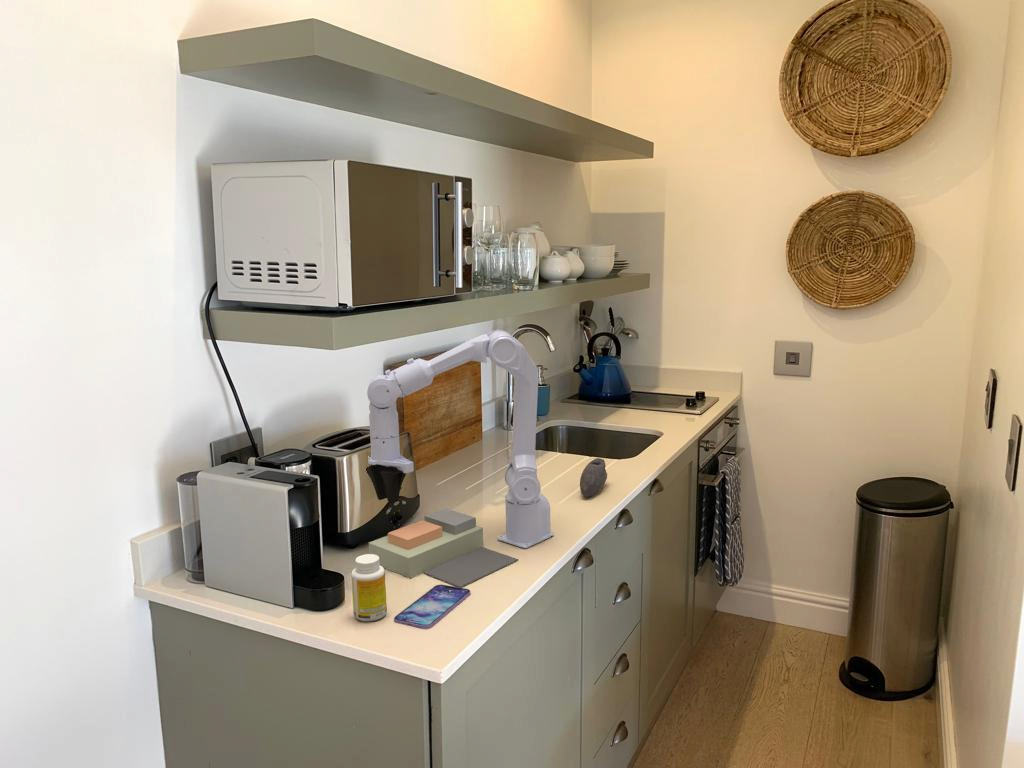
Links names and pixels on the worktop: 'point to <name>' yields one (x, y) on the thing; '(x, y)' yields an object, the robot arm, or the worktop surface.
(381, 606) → the supplement bottle
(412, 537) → the peach rectangular tile
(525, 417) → the robot arm
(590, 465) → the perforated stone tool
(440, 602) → the smartphone
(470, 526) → the slate gray rectangular block
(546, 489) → the worktop surface
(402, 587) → the worktop surface
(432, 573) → the mat
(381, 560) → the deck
